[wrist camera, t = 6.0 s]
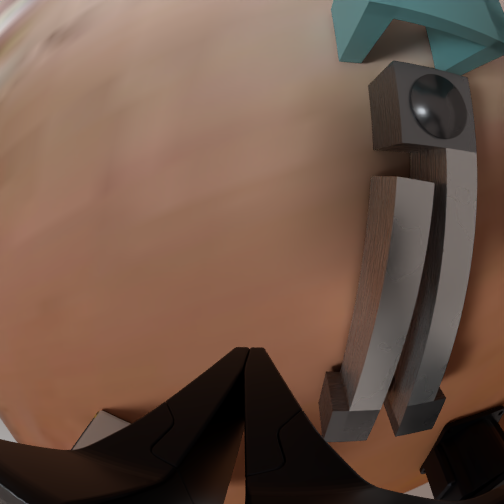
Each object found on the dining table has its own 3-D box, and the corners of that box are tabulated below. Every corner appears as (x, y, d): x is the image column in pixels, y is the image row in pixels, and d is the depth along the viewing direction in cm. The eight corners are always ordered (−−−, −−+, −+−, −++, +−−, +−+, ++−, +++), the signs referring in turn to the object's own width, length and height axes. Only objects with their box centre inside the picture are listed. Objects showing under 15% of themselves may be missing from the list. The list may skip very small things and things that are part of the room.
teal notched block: (331, 9, 9) (350, -59, 4) (441, 29, 9) (492, -13, 4) (338, 61, 10) (369, 1, 5) (452, 79, 10) (516, 49, 5)
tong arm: (354, 173, 11) (376, 173, 9) (402, 180, 11) (434, 183, 8) (318, 402, 15) (322, 442, 12) (356, 402, 14) (366, 440, 11)
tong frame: (368, 85, 11) (394, 58, 7) (443, 97, 10) (483, 81, 7) (352, 400, 15) (362, 443, 11) (414, 392, 14) (432, 430, 11)
